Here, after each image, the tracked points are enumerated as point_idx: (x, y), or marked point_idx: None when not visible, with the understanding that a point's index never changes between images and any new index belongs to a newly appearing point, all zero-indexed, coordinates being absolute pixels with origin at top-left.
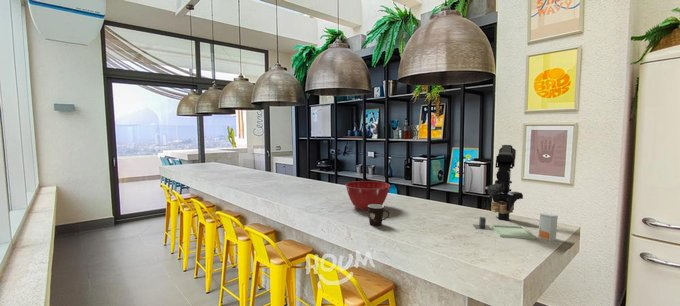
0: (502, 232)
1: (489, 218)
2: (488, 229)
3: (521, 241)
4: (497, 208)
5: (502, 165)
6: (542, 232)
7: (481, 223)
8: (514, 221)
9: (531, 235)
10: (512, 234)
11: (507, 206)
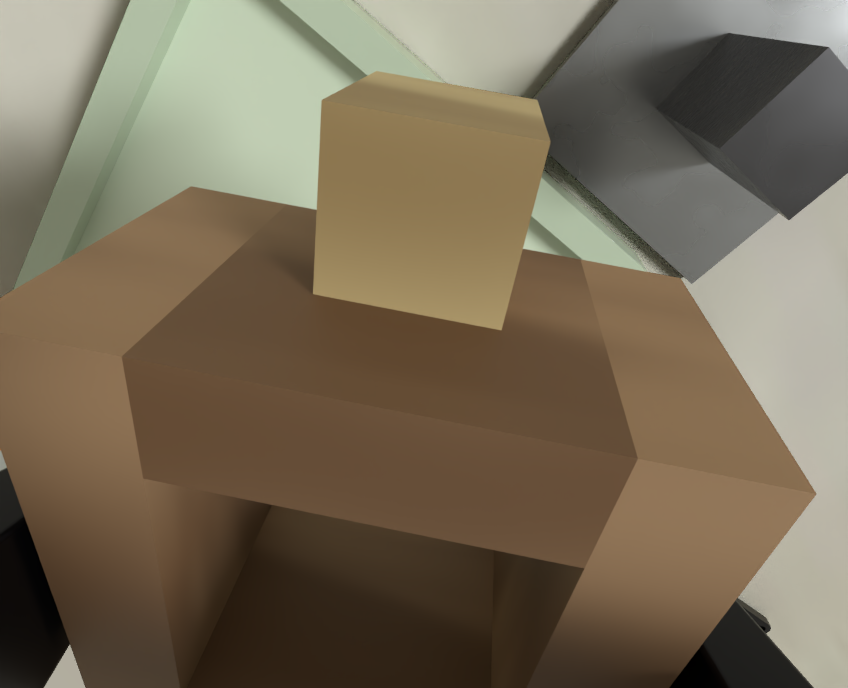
0: None
1: (815, 555)
2: (574, 82)
3: (6, 72)
4: (326, 237)
5: None
6: None
7: (749, 55)
8: None
9: None
10: (214, 183)
11: (12, 497)
